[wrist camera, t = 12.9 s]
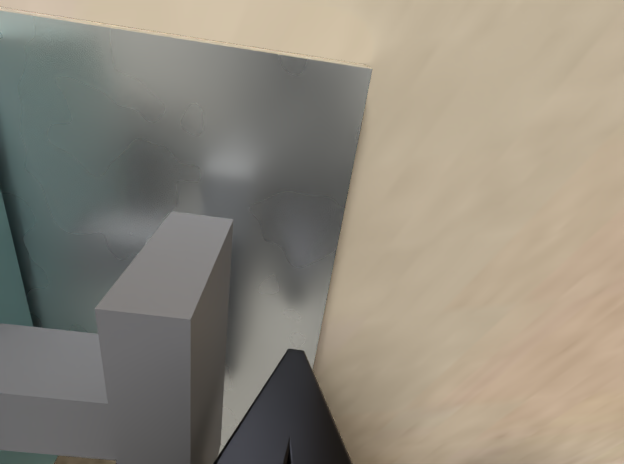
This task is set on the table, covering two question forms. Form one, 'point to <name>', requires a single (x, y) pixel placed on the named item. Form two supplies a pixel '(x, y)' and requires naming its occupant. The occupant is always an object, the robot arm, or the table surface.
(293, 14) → the table surface
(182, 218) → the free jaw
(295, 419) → the robot arm
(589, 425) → the table surface
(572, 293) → the table surface
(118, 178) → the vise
